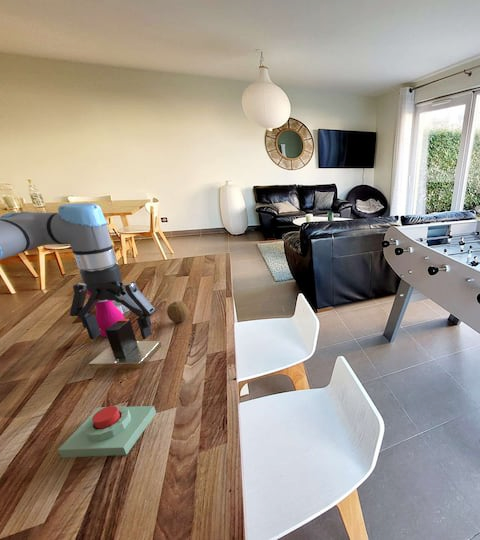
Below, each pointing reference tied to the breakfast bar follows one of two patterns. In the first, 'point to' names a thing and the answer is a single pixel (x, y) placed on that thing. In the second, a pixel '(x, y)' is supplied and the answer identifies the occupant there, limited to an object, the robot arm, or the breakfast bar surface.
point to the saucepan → (120, 306)
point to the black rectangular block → (121, 338)
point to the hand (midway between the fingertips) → (121, 336)
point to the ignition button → (106, 417)
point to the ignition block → (109, 434)
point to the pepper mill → (106, 315)
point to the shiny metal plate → (131, 361)
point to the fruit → (177, 311)
